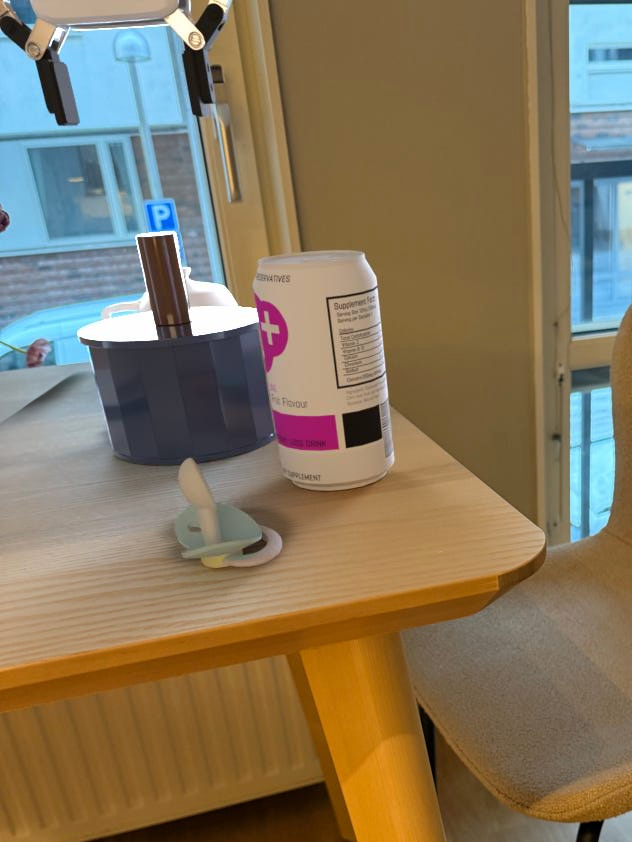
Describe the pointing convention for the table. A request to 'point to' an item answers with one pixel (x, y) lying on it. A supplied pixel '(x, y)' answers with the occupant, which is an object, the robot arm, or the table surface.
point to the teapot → (197, 294)
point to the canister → (185, 400)
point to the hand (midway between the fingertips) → (135, 121)
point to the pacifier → (218, 527)
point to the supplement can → (325, 367)
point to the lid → (167, 307)
